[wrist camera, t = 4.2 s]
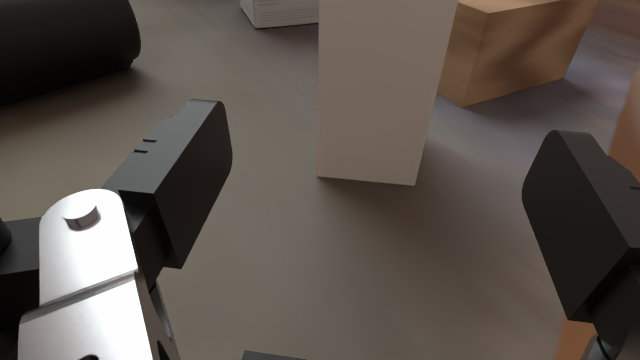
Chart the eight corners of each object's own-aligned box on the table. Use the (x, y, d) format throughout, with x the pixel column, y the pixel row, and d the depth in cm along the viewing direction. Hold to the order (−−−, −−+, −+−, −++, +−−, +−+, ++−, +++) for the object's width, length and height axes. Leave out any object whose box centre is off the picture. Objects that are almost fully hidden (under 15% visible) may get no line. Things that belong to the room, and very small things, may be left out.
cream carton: (414, 185, 18) (492, -145, 11) (316, 176, 19) (320, -148, 11) (410, 132, 22) (465, -144, 14) (328, 125, 22) (337, -147, 15)
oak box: (460, 110, 24) (488, 13, 21) (373, 55, 31) (382, -26, 27) (562, 80, 28) (602, -8, 24) (464, 36, 35) (484, -38, 31)
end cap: (-10, 131, 22) (-91, 5, 17) (-38, 89, 25) (-111, -23, 21) (154, 77, 27) (124, -28, 23) (111, 50, 31) (78, -46, 27)
